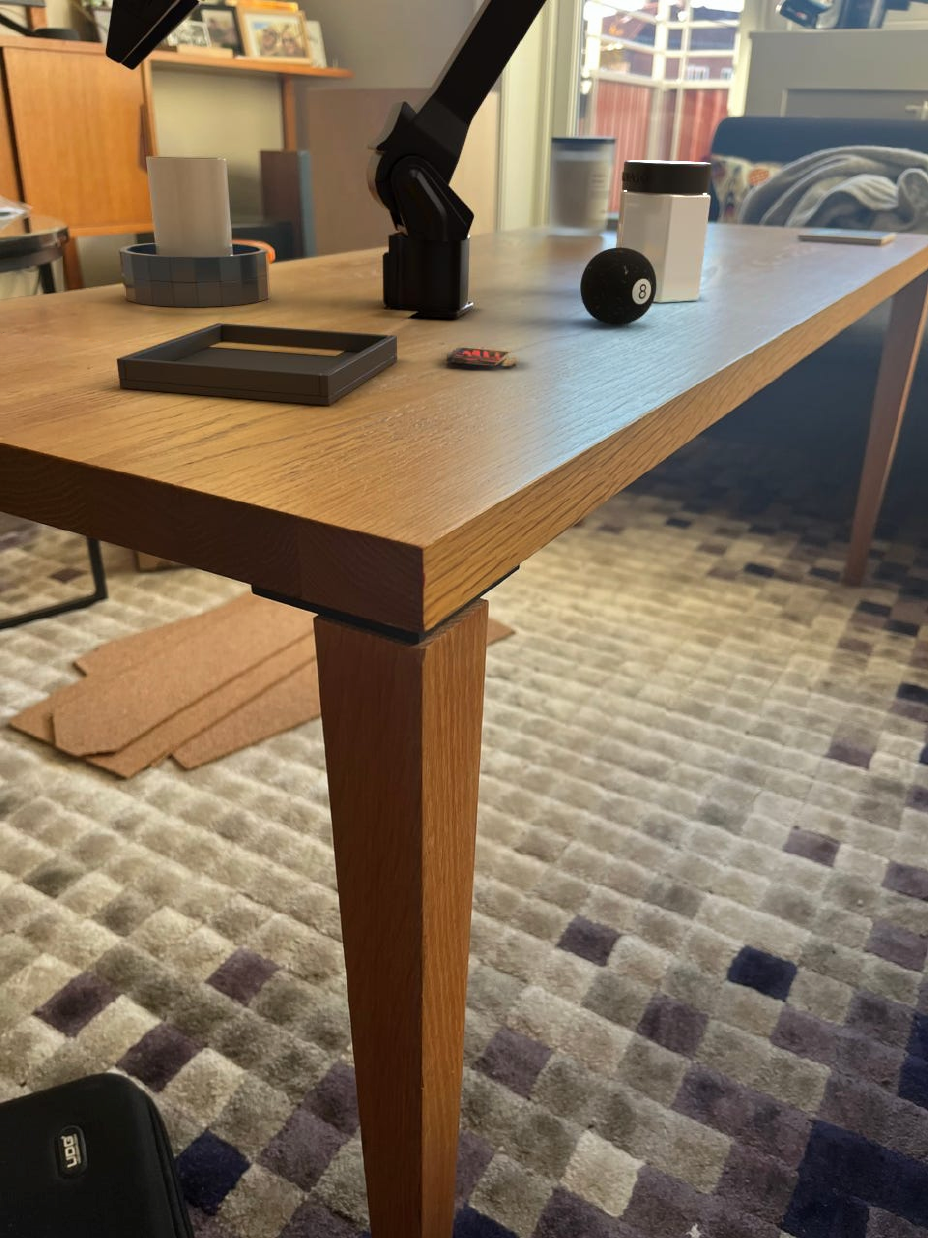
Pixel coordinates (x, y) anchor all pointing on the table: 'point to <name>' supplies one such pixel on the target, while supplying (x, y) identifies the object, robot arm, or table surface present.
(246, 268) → the bowl
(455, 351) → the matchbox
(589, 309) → the billiard ball
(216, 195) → the cup
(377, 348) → the tray
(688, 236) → the jar
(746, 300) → the table surface
